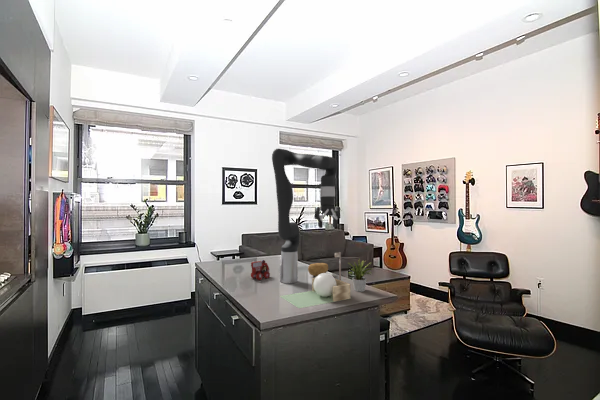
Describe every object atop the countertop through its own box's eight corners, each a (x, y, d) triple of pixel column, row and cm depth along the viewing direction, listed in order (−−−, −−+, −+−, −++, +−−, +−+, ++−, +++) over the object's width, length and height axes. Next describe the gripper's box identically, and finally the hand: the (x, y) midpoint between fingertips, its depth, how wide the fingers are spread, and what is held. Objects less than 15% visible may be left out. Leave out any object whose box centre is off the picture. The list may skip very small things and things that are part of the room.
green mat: (299, 309, 135) (299, 308, 135) (279, 296, 153) (279, 296, 153) (351, 299, 149) (351, 298, 149) (328, 288, 166) (328, 288, 166)
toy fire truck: (272, 277, 190) (272, 260, 190) (255, 281, 182) (255, 263, 182) (265, 275, 195) (265, 258, 195) (248, 279, 187) (248, 261, 187)
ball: (327, 264, 153) (338, 278, 158) (308, 274, 156) (319, 288, 161) (330, 280, 144) (342, 295, 148) (309, 291, 146) (322, 305, 151)
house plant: (353, 296, 152) (353, 262, 152) (338, 289, 165) (338, 257, 165) (378, 293, 158) (378, 260, 158) (362, 286, 171) (362, 255, 171)
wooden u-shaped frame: (334, 301, 144) (334, 257, 144) (312, 290, 161) (311, 251, 161) (353, 298, 150) (353, 255, 149) (329, 287, 167) (329, 249, 166)
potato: (332, 276, 193) (332, 262, 193) (314, 279, 186) (314, 265, 186) (322, 273, 202) (322, 260, 201) (304, 276, 194) (304, 262, 194)
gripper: (334, 195, 170) (334, 226, 170) (312, 195, 163) (312, 227, 163) (343, 195, 164) (343, 227, 164) (319, 195, 157) (319, 228, 157)
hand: (327, 227), depth 164 cm, fingers open, 8 cm apart
